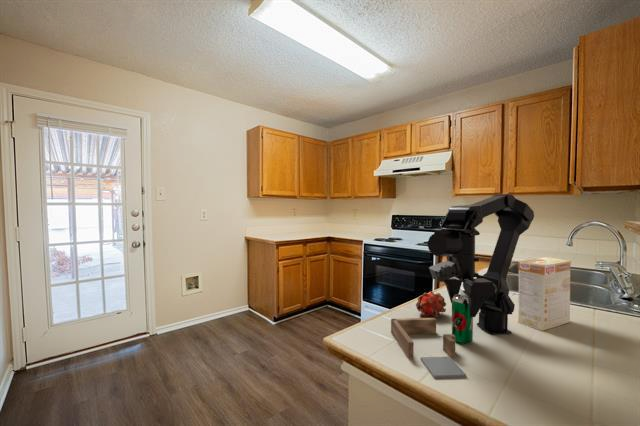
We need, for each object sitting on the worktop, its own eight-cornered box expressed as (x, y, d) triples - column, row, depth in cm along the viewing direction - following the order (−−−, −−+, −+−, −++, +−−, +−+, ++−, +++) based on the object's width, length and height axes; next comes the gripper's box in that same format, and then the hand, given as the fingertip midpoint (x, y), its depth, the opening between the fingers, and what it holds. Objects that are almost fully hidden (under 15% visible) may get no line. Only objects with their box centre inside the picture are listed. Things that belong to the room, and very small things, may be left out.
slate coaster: (449, 358, 65) (449, 356, 65) (466, 377, 58) (466, 374, 58) (420, 359, 65) (420, 357, 65) (434, 378, 58) (434, 375, 58)
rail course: (434, 331, 79) (434, 317, 79) (460, 357, 66) (460, 341, 66) (391, 332, 79) (391, 318, 79) (408, 358, 65) (408, 342, 65)
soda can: (475, 346, 71) (475, 300, 71) (454, 344, 72) (454, 299, 72) (468, 337, 76) (469, 294, 76) (449, 335, 77) (449, 293, 77)
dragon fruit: (445, 317, 94) (421, 329, 88) (427, 297, 99) (403, 307, 94) (457, 302, 88) (432, 314, 83) (437, 282, 94) (413, 292, 88)
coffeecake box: (544, 314, 91) (545, 256, 91) (571, 322, 85) (572, 260, 84) (516, 322, 86) (517, 260, 85) (542, 331, 79) (543, 264, 79)
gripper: (419, 247, 82) (419, 298, 83) (451, 260, 64) (451, 326, 64) (455, 247, 83) (455, 298, 83) (498, 259, 64) (497, 324, 65)
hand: (462, 310), depth 74 cm, fingers open, 9 cm apart
